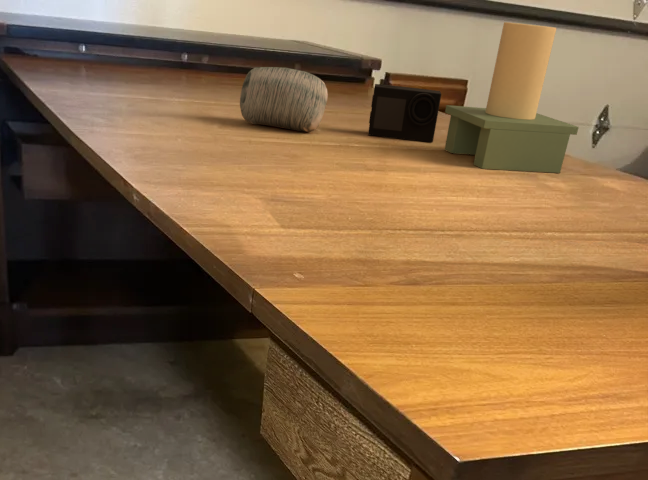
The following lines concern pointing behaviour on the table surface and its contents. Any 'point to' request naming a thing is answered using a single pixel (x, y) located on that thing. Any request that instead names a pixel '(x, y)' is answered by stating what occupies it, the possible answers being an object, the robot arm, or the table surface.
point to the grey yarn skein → (283, 98)
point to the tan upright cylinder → (520, 70)
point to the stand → (508, 140)
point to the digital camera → (404, 112)
